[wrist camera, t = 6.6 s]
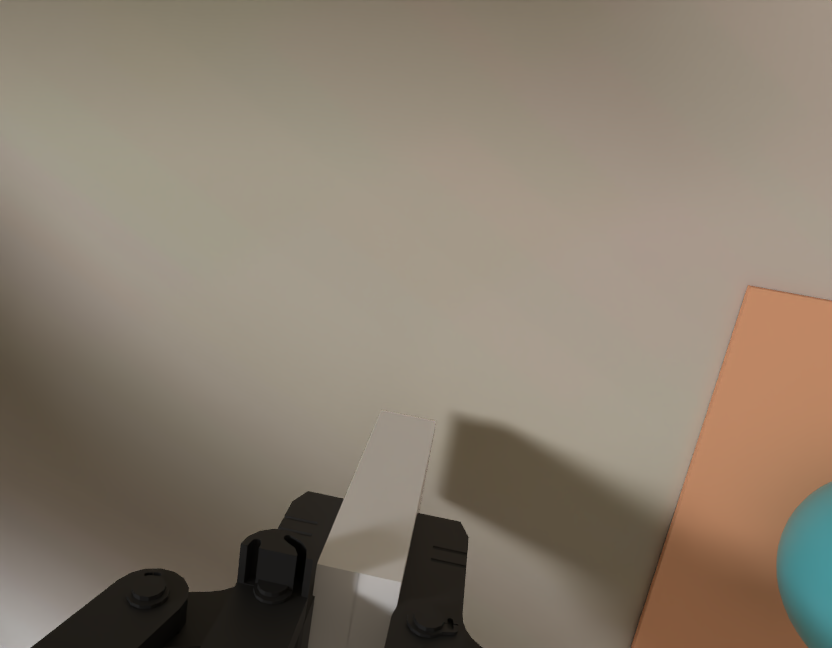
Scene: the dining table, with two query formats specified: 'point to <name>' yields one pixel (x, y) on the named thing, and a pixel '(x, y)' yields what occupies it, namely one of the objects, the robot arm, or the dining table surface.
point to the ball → (808, 568)
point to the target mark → (747, 482)
